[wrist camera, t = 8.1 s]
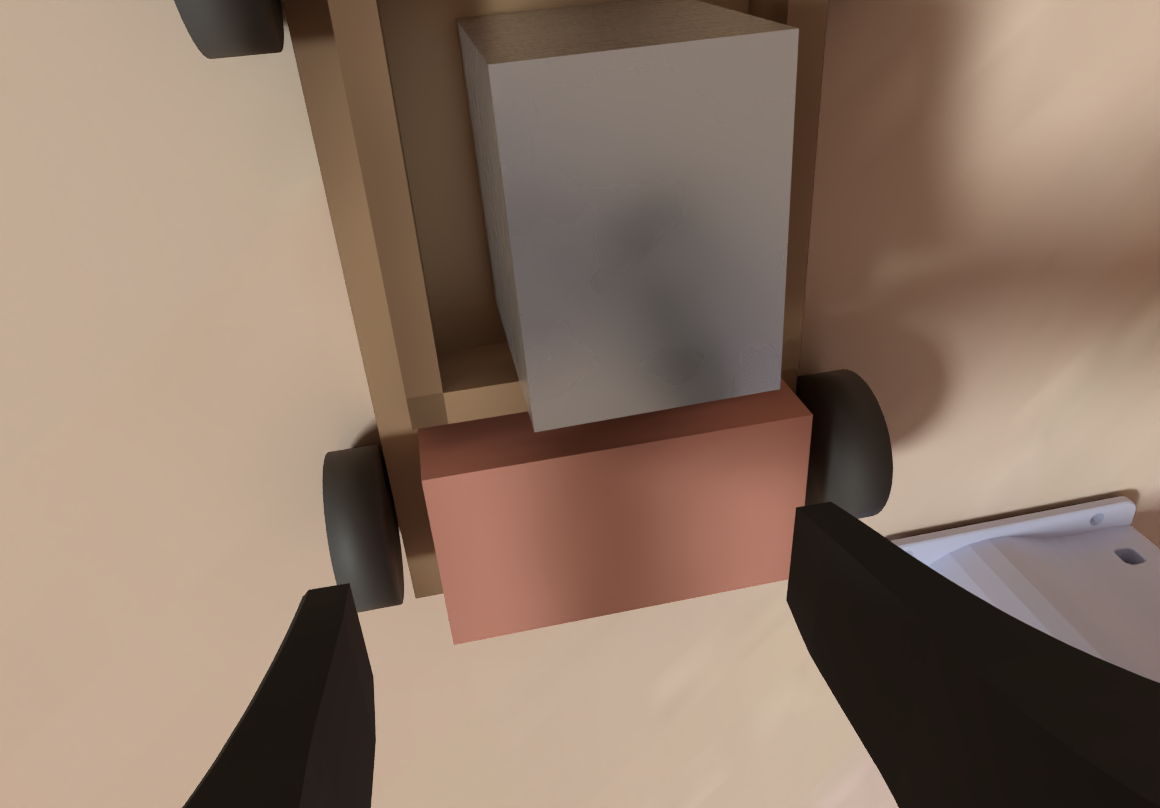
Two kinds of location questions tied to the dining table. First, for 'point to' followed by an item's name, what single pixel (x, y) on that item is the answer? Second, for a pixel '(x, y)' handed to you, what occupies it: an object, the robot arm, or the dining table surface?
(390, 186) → the chassis
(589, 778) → the dining table surface
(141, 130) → the dining table surface
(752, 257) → the grey block
